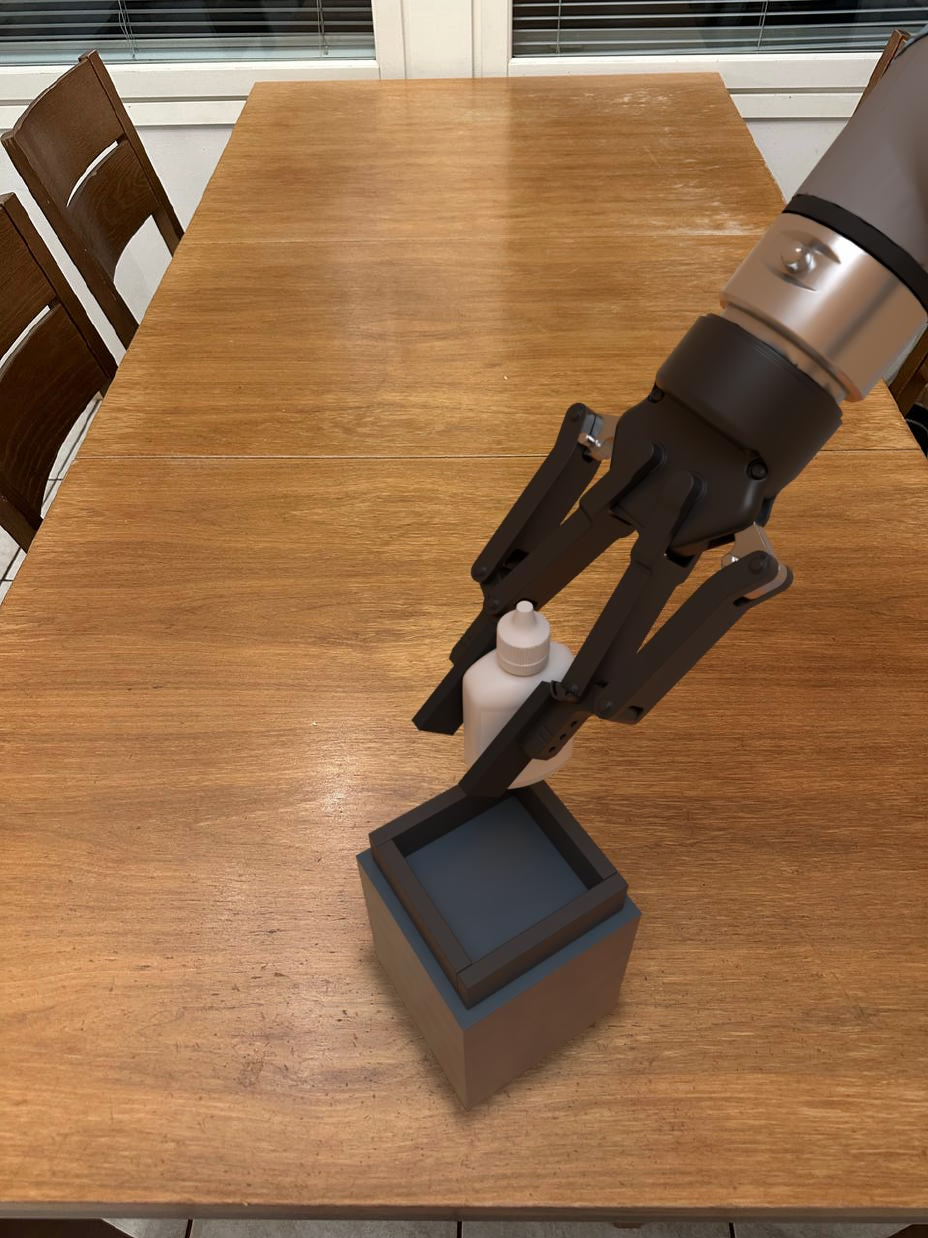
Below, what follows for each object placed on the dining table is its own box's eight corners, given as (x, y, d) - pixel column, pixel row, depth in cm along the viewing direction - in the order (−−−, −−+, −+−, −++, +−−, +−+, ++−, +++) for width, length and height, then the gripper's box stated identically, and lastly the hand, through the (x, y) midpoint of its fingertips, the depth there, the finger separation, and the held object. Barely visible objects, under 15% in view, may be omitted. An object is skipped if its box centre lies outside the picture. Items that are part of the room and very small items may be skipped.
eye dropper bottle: (567, 803, 48) (585, 652, 39) (459, 788, 49) (452, 636, 40) (575, 734, 51) (593, 578, 42) (473, 721, 52) (469, 565, 43)
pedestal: (615, 1008, 65) (649, 888, 51) (467, 1112, 60) (462, 1011, 47) (515, 872, 71) (522, 735, 58) (376, 956, 67) (349, 830, 54)
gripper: (612, 236, 42) (323, 637, 48) (918, 428, 32) (505, 896, 39) (685, 311, 47) (418, 660, 54) (963, 492, 38) (598, 890, 44)
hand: (455, 757), depth 46 cm, fingers closed on eye dropper bottle, 4 cm apart
